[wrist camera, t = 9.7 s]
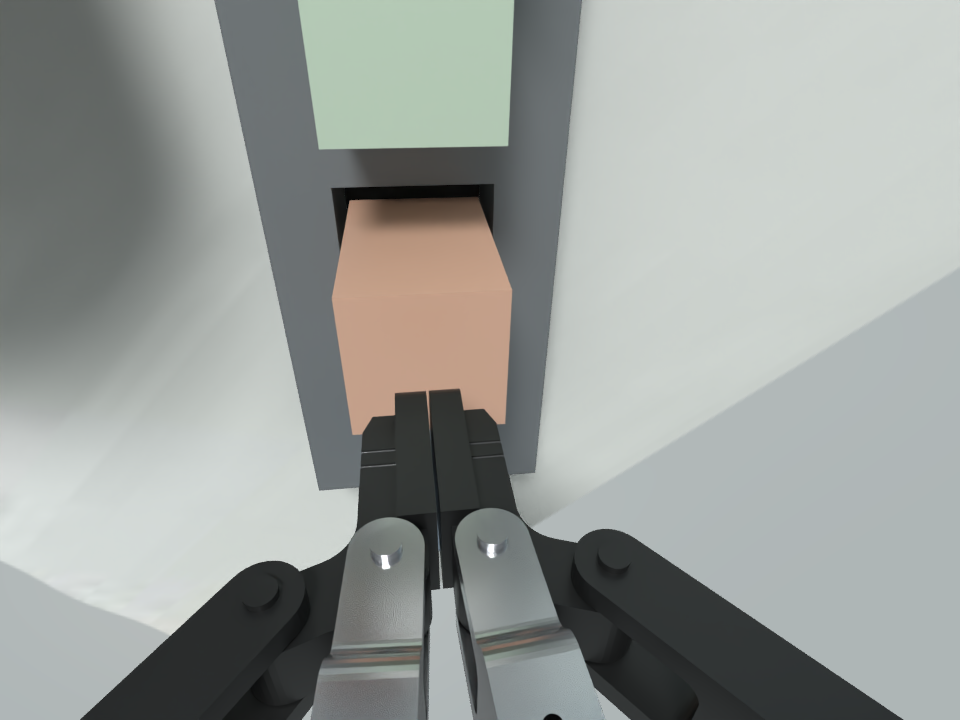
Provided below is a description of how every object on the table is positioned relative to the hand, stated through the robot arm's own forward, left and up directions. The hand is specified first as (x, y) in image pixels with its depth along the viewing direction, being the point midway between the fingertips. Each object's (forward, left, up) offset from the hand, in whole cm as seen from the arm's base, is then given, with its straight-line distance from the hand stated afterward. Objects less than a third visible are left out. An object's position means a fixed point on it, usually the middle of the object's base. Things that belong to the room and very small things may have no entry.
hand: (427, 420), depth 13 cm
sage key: (0, -7, -11) cm, 13 cm away
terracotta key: (0, 0, -9) cm, 9 cm away
